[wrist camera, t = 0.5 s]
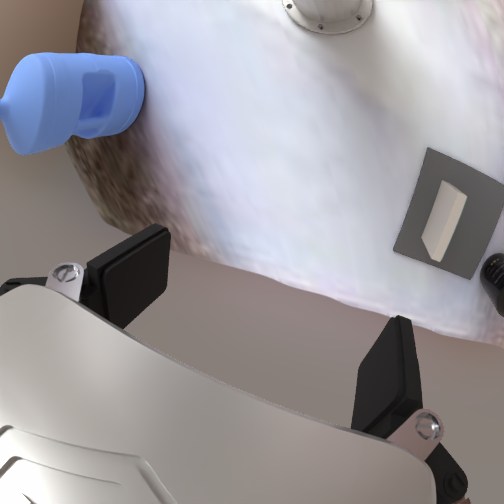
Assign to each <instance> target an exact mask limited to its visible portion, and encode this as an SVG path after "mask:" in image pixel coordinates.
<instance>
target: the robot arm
mask: <svg viewBox="0 0 504 504" xmlns="http://www.w3.org/2000/svg"><path fill="white" fill-rule="evenodd" d="M282 4H283V6H284V8H285V10H286V12H287V13H288V15H289V16H290V17H291V18H292V19H293V20H294V21H295V22H296V23H297V24H299V25H300V26H302V27H304V28H306V29H308V30H311V31H313V32H317V33H322V34H342V33H346V32H350V31H352V30H354V29H357V28H358V27H360V26H361V25H363V23H364V22H365V21H366V20H367V19H368V17H369V16H370V14H371V11H372V5H373V0H282ZM290 7H292V8H291V9H289V8H290ZM357 19H361V20H360V21H359V20H357ZM321 27H323V29H320V28H321ZM170 240H171V234H170V232H169V231H168V228H166V227H164V226H161V225H159V224H156V223H155V224H153V225H151V226H149V227H147V228H145V229H144V230H142V231H140V232H138V233H137V234H135V235H133V236H131V237H129V238H128V239H126V240H124V241H123V242H121V243H119V244H117V245H116V246H114V247H112V248H110V249H109V250H107V251H106V252H104V253H102V254H100V255H99V256H97V257H95V258H94V259H92V260H90V261H89V262H87V268H86V269H85V270H83V268H82V267H81V266H80V265H79V264H76V263H71V262H67V263H62V264H59V265H57V266H55V267H54V268H53V269H52V270H51V271H50V273H49V276H48V277H37V278H36V277H35V278H14V279H9V280H8V281H6V282H5V283H4V284H3V285H2V286H1V287H0V504H471V502H470V499H469V498H466V499H465V497H464V495H465V493H466V492H467V488H468V481H467V477H466V475H465V473H464V471H463V470H462V469H461V468H460V466H459V465H458V464H457V463H456V461H455V460H454V459H453V458H452V456H451V455H450V454H449V453H448V451H447V450H446V449H445V448H444V447H443V445H442V444H441V443H440V441H441V439H442V437H443V434H444V427H443V423H442V421H441V419H440V418H439V416H438V415H437V414H436V413H434V412H433V411H431V410H429V409H423V403H422V391H421V380H420V371H419V364H418V359H417V354H416V347H415V341H414V334H413V328H412V322H411V320H410V319H408V318H405V317H402V316H399V315H397V316H396V317H395V318H394V317H391V318H390V320H389V321H388V323H387V325H386V326H385V328H384V330H383V331H382V332H381V334H380V336H379V337H378V339H377V340H376V342H375V343H374V345H373V346H372V348H371V349H370V351H369V352H368V354H367V355H366V357H365V358H364V359H363V361H362V362H361V364H360V366H359V369H358V378H357V386H356V394H355V402H354V410H353V417H352V424H351V429H350V428H346V427H343V426H340V425H336V424H333V423H330V422H327V421H324V420H320V419H318V418H315V417H312V416H308V415H305V414H303V413H300V412H297V411H294V410H291V409H288V408H285V407H283V406H280V405H277V404H274V403H272V402H269V401H267V400H264V399H262V398H259V397H257V396H254V395H252V394H250V393H247V392H245V391H242V390H240V389H238V388H235V387H233V386H230V385H228V384H226V383H224V382H222V381H220V380H217V379H215V378H213V377H211V376H209V375H206V374H205V373H202V372H200V371H198V370H196V369H194V368H192V367H190V366H188V365H186V364H184V363H182V362H180V361H178V360H176V359H174V358H173V357H171V356H169V355H167V354H165V353H163V352H161V351H159V350H158V349H155V348H154V347H152V346H150V345H148V344H147V343H145V342H143V341H141V340H139V339H138V338H136V337H135V336H133V335H131V334H129V333H128V332H126V331H124V330H123V329H124V328H125V327H126V326H127V325H128V324H129V323H130V322H132V321H133V320H134V318H136V317H137V316H138V315H139V314H140V313H141V312H142V311H144V309H145V308H147V307H148V306H149V305H150V304H151V303H152V302H153V301H155V300H156V299H157V298H158V297H159V296H160V295H161V294H162V293H163V292H164V291H165V290H166V287H167V279H168V265H169V251H170Z"/></svg>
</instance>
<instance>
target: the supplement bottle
mask: <svg viewBox="0 0 504 504" xmlns="http://www.w3.org/2000/svg"><path fill="white" fill-rule="evenodd" d="M480 278H481V283H482V285H483V287H484V289H485V290H486V292H487V294H488V295H489V297H490V299H491V301H492V303H493V304H494V306H495V308H496V310H497V311H498V313H499V314H500V315H501V316H503V317H504V254H503V253H497V254H494V255H492V256H491V257H489V258H488V259H487V260H486V262H485V263H484V265H483V267H482V270H481V276H480Z"/></svg>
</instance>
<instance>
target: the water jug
mask: <svg viewBox="0 0 504 504" xmlns="http://www.w3.org/2000/svg"><path fill="white" fill-rule="evenodd" d="M144 89H145V88H144V79H143V75H142V72H141V70H140V68H139V67H138V65H137V64H136V63H135V62H134V61H133V60H131V59H130V58H127V57H123V56H106V55H95V54H89V53H79V54H56V53H39V54H31V55H28V56H26V57H25V58H23V59H22V60H21V61H20V62H19V64H18V65H17V66H16V68H15V69H14V71H13V73H12V76H11V78H10V80H9V83H8V86H7V88H6V91H5V94H4V97H3V98H2V99H0V120H1V121H2V122H3V125H4V128H5V131H6V134H7V137H8V140H9V143H10V145H11V146H12V148H13V149H14V150H15V151H16V152H17V153H18V154H20V155H29V154H34V153H39V152H42V151H45V150H48V149H50V148H53V147H57V146H60V145H62V144H64V143H65V142H66V141H67V140H68V139H69V138H70V136H71V135H78V136H80V137H83V138H86V139H91V138H96V137H101V136H110V135H116V134H119V133H121V132H123V131H124V130H126V129H127V128H128V127H129V126H130V125H131V124H132V123H133V122H134V121H135V119H136V117H137V116H138V114H139V112H140V109H141V107H142V103H143V99H144Z"/></svg>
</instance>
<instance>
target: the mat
mask: <svg viewBox="0 0 504 504" xmlns="http://www.w3.org/2000/svg"><path fill="white" fill-rule="evenodd" d="M442 180H443V181H445V182H448V183H450V184H451V185H453V186H454V187H456V188H457V189H458V190H460V191H461V192H462V193H464V194H465V195H466V196H467V200H466V203H465V206H464V209H463V211H462V214H461V217H460V219H459V222H458V224H457V227H456V229H455V232H454V234H453V236H452V239H451V241H450V243H449V246H448V248H447V250H446V252H445V254H444V257H443V259H442V260H441V261H440V262H438V261H436V260H433V259H431V257H430V255H429V253H428V251H427V248H426V246H425V244H424V242H423V240H422V238H421V237H422V234H423V232H424V229H425V227H426V224H427V221H428V219H429V216H430V214H431V211H432V208H433V205H434V203H435V200H436V197H437V194H438V191H439V188H440V185H441V182H442ZM503 205H504V185H503V184H501V183H499V182H498V181H496V180H494V179H492V178H490V177H489V176H487V175H485V174H483V173H481V172H479V171H477V170H475V169H473V168H471V167H469V166H467V165H465V164H463V163H461V162H459V161H457V160H455V159H453V158H451V157H449V156H446V155H444V154H442V153H440V152H437V151H435V150H433V149H430V148H427V152H426V155H425V159H424V162H423V166H422V169H421V172H420V176H419V179H418V182H417V185H416V188H415V191H414V194H413V197H412V200H411V203H410V206H409V209H408V212H407V214H406V217H405V220H404V223H403V225H402V228H401V231H400V233H399V236H398V238H397V241H396V243H395V246H394V248H393V251H394V252H397V253H400V254H403V255H405V256H408V257H411V258H414V259H417V260H419V261H422V262H425V263H427V264H430V265H433V266H435V267H438V268H441V269H443V270H446V271H449V272H451V273H454V274H456V275H459V276H461V277H464V278H467V279H469V280H471V278H472V276H473V274H474V272H475V270H476V268H477V266H478V264H479V262H480V260H481V258H482V256H483V254H484V252H485V250H486V247H487V245H488V243H489V241H490V238H491V236H492V234H493V231H494V229H495V226H496V224H497V221H498V219H499V216H500V214H501V211H502V208H503Z"/></svg>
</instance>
